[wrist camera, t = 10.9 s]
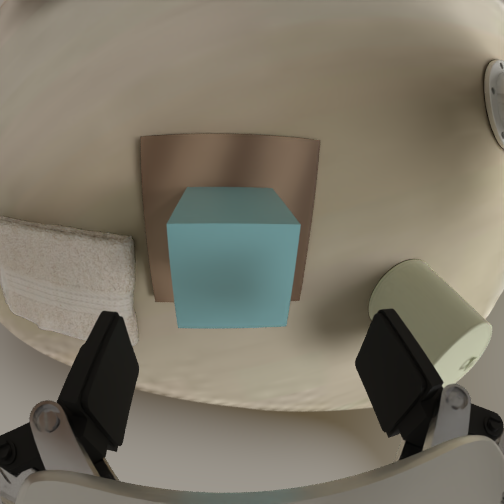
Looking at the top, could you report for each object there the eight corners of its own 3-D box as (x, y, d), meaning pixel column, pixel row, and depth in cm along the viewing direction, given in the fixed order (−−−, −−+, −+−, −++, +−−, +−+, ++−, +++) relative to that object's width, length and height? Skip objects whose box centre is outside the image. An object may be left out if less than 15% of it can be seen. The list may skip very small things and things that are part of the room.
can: (407, 327, 30) (454, 394, 19) (354, 323, 28) (401, 408, 17) (442, 266, 26) (506, 326, 16) (392, 250, 24) (469, 325, 14)
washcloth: (-3, 211, 18) (-20, 222, 16) (140, 229, 22) (129, 244, 19) (16, 303, 23) (4, 317, 20) (141, 333, 26) (136, 354, 24)
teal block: (272, 188, 20) (300, 224, 13) (266, 263, 22) (286, 326, 15) (187, 187, 19) (166, 223, 12) (190, 263, 22) (178, 327, 15)
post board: (315, 139, 19) (361, 148, 12) (296, 294, 25) (320, 351, 19) (144, 136, 18) (104, 142, 11) (157, 295, 24) (140, 354, 17)
